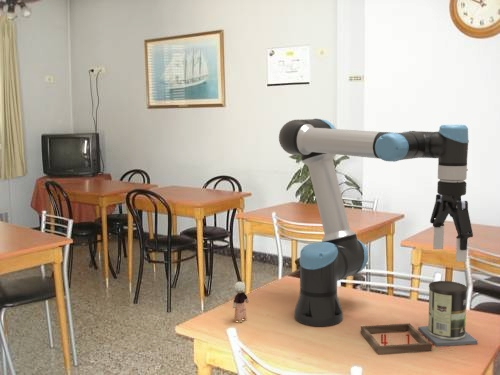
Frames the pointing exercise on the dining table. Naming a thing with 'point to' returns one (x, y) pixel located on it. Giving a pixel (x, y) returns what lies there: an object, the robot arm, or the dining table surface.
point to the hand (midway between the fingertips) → (449, 255)
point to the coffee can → (447, 310)
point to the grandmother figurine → (240, 302)
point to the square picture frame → (393, 349)
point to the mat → (443, 342)
